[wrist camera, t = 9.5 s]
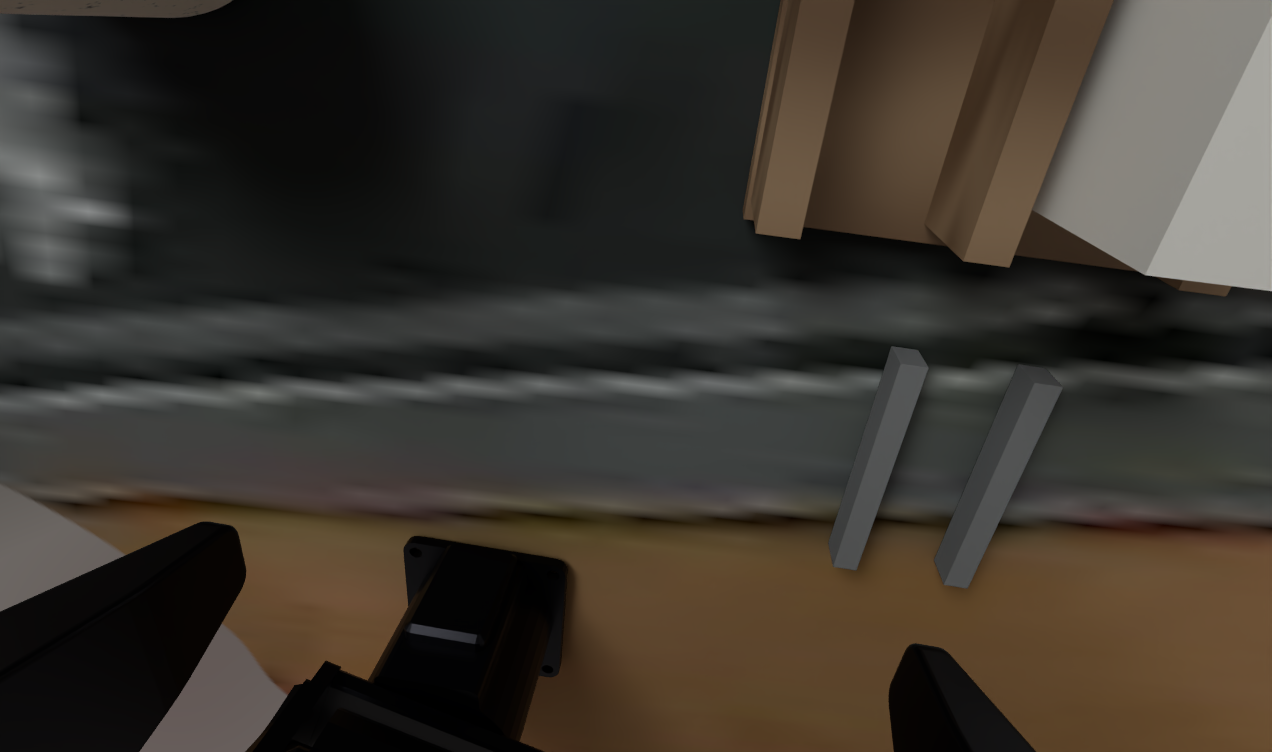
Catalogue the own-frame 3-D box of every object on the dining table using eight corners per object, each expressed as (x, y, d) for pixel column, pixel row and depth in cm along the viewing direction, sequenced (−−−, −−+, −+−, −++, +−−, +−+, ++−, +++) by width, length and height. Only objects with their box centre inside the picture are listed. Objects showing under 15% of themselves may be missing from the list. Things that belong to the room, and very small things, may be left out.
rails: (956, 563, 24) (967, 588, 23) (828, 542, 24) (833, 566, 23) (1045, 368, 20) (1063, 387, 19) (891, 346, 20) (900, 363, 19)
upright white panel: (1097, 203, 17) (1294, 294, 11) (1000, 191, 17) (1144, 274, 11) (1246, -143, 13) (1642, -275, 8) (1124, -153, 13) (1422, -291, 8)
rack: (1291, 283, 18) (1439, 348, 14) (742, 210, 19) (747, 254, 15) (1580, -189, 13) (1918, -276, 9) (827, -257, 14) (864, -362, 10)
